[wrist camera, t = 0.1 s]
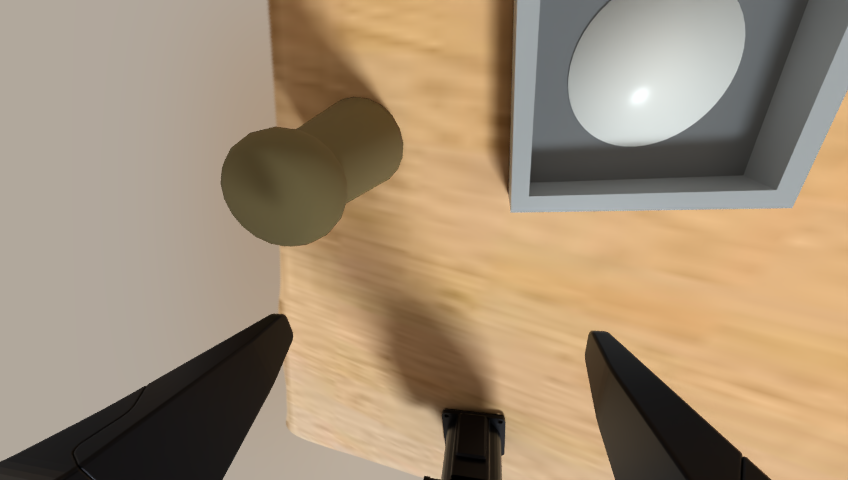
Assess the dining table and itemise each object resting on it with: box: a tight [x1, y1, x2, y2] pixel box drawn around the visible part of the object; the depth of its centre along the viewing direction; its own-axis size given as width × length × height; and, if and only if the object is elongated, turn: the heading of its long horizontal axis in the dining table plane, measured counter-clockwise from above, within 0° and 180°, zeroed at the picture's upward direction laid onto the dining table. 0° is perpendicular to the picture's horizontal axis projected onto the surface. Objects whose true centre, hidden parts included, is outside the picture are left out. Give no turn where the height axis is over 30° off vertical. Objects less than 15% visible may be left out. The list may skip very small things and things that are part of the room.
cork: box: [221, 97, 403, 246], centre depth 17 cm, size 6×6×11 cm
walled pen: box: [509, 0, 848, 212], centre depth 16 cm, size 14×14×3 cm
